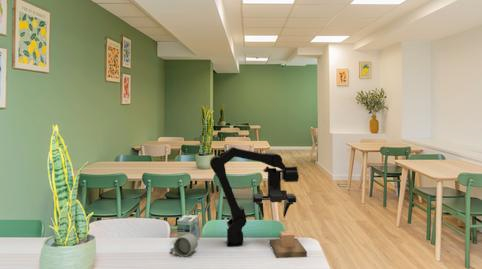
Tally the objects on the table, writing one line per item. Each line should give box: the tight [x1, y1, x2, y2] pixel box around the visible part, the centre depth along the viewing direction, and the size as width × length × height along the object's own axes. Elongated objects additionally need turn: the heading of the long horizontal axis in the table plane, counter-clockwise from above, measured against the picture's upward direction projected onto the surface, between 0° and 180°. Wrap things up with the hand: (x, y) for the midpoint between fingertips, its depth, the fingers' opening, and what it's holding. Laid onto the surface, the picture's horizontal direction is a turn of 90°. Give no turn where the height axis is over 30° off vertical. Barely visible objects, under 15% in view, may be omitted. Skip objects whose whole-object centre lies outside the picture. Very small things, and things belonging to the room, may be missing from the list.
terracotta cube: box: [279, 230, 296, 248], centre depth 150 cm, size 5×5×5 cm
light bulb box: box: [176, 214, 200, 241], centre depth 161 cm, size 11×7×11 cm, turn 168°
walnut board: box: [269, 238, 308, 259], centre depth 150 cm, size 12×16×2 cm
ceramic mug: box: [169, 234, 199, 258], centre depth 147 cm, size 11×8×8 cm
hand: (273, 217), depth 160 cm, fingers open, 9 cm apart
